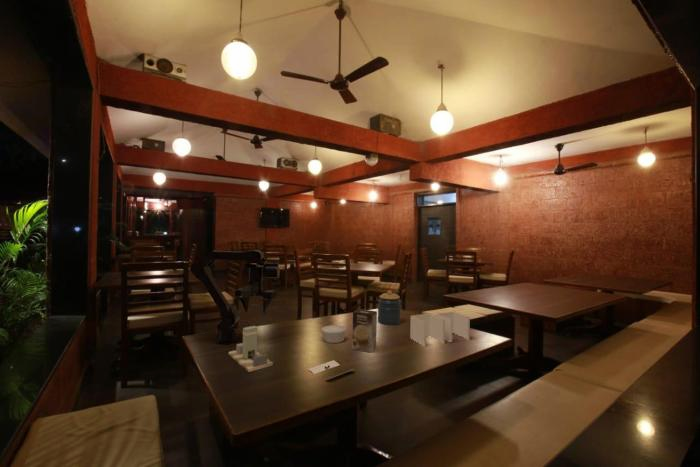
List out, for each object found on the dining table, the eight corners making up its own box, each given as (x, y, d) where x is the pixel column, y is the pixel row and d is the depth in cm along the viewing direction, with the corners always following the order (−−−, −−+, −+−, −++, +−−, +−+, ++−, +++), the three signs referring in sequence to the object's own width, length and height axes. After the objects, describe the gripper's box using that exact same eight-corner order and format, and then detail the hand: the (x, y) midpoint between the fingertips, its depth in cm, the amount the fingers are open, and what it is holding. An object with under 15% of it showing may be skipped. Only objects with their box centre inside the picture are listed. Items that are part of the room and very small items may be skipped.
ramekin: (317, 342, 143) (317, 330, 143) (328, 334, 153) (328, 323, 153) (340, 345, 138) (340, 333, 138) (349, 337, 149) (349, 326, 149)
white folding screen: (453, 333, 157) (453, 311, 157) (469, 340, 147) (469, 317, 147) (410, 339, 148) (410, 315, 148) (423, 347, 138) (424, 322, 138)
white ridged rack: (235, 352, 127) (235, 344, 127) (247, 349, 130) (247, 341, 130) (254, 367, 113) (254, 358, 113) (267, 363, 116) (267, 354, 116)
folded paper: (333, 363, 121) (333, 357, 121) (355, 373, 112) (355, 368, 112) (307, 372, 113) (307, 366, 113) (328, 384, 104) (328, 378, 104)
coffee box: (351, 349, 134) (351, 311, 134) (357, 344, 140) (357, 308, 140) (371, 353, 130) (372, 314, 130) (377, 348, 136) (377, 310, 136)
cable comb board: (228, 354, 127) (228, 351, 127) (250, 349, 133) (250, 346, 133) (249, 371, 111) (249, 369, 111) (272, 365, 117) (272, 362, 117)
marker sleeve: (242, 356, 122) (242, 327, 122) (253, 353, 125) (254, 325, 125) (245, 359, 119) (245, 329, 119) (257, 356, 122) (257, 327, 122)
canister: (376, 324, 171) (377, 291, 171) (378, 318, 183) (378, 287, 183) (401, 326, 168) (401, 292, 168) (401, 319, 181) (401, 288, 181)
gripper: (226, 279, 137) (225, 315, 137) (264, 281, 132) (264, 319, 132) (241, 276, 148) (241, 309, 148) (277, 278, 142) (277, 312, 143)
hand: (255, 312), depth 142 cm, fingers open, 9 cm apart
